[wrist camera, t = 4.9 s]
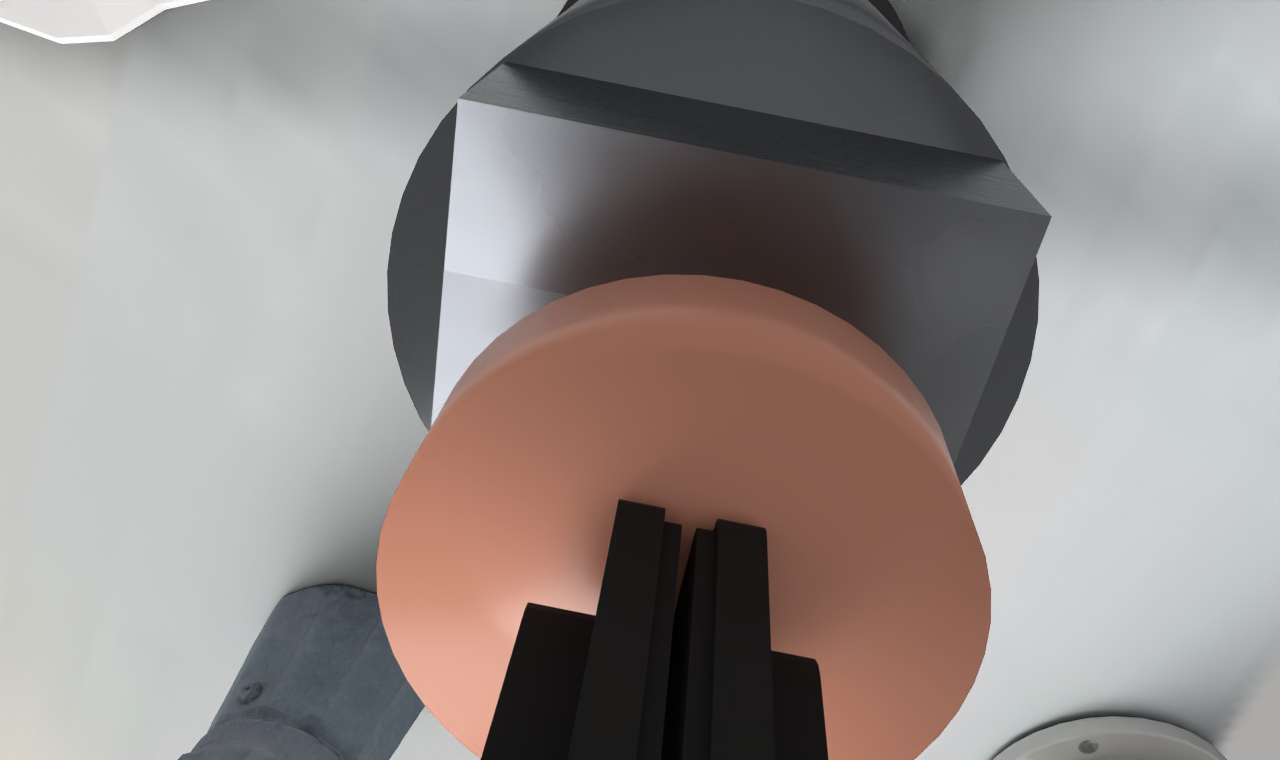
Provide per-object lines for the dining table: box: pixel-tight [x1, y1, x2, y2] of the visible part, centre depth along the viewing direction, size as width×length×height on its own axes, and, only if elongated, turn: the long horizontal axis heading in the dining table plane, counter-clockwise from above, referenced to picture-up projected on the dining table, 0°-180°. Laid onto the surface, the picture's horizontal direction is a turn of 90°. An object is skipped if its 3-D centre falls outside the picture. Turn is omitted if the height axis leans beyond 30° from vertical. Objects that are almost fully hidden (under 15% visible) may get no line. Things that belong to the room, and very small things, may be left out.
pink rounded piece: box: [376, 275, 991, 760], centre depth 14 cm, size 7×7×6 cm
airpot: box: [387, 0, 1052, 485], centre depth 24 cm, size 13×19×21 cm
